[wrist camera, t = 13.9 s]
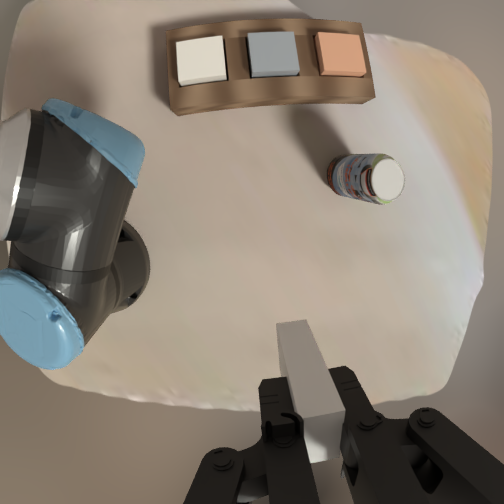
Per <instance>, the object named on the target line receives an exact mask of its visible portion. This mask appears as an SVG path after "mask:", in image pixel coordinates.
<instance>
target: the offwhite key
mask: <svg viewBox="0 0 504 504" xmlns="http://www.w3.org/2000/svg"><path fill="white" fill-rule="evenodd" d="M176 49H177V67H178V82H179V83H180V85H181V86H182V87H186V86H192V85H199V84H206V83H213V82H222V81H227V77H226V67H225V57H224V47H223V39H222V36H214V37H206V38H199V39H192V40H186V41H180V42H176Z"/></svg>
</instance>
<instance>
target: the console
mask: <svg viewBox="0 0 504 504" xmlns="http://www.w3.org/2000/svg"><path fill="white" fill-rule="evenodd" d="M259 32H294V37H295V43H296V49H297V56H298V62H299V69H300V71H299V72H298V74H297V75H296V76H292V77H268V78H253V79H251V75H250V66H249V58H248V49H247V37H248V33H259ZM318 32H325V33H341V34H352V35H359V37H360V42H361V46H362V51H363V56H364V62H365V67H366V73H365V74H364V75H362V76H361V77H360V78H356V77H332V76H319V71H318V65H317V59H316V53H315V47H314V41H313V39H314V38H315V36H316V34H317V33H318ZM214 36H222V39H223V47H224V57H225V67H226V77H227V81H222V82H213V83H206V84H199V85H192V86H186V87H182V86H181V85H180V83H179V82H178V67H177V49H176V42H180V41H186V40H192V39H199V38H206V37H214ZM166 45H167V66H168V83H169V98H170V110H172V111H173V112H174V113H175V114H176V115H177V116H181V115H188V114H194V113H201V112H209V111H216V110H225V109H234V108H244V107H255V106H269V105H286V104H322V103H336V104H363V103H365V102H367V101H369V100H371V99H373V98H375V91H374V84H373V78H372V73H371V67H370V62H369V57H368V52H367V47H366V42H365V38H364V33H363V29H362V25H361V23H356V22H346V21H336V20H321V19H255V20H240V21H228V22H219V23H210V24H203V25H196V26H190V27H184V28H178V29H173V30H168V31H166Z"/></svg>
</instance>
